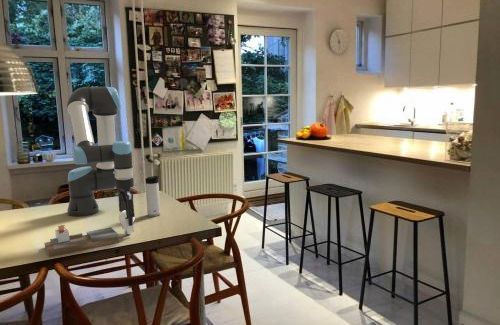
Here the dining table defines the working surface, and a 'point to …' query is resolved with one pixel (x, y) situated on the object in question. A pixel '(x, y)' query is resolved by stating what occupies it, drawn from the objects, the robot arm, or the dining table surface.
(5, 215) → the dining table surface
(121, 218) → the light bulb
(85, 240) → the press base
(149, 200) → the travel mug
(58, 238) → the ram slider
